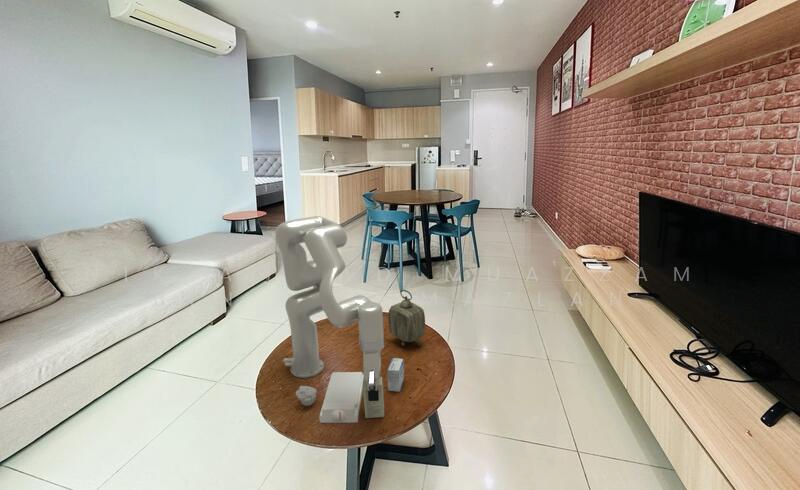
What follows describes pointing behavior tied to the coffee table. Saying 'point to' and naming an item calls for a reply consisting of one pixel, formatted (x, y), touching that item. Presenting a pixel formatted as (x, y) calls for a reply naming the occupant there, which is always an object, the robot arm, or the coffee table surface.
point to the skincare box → (374, 407)
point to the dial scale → (342, 398)
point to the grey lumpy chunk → (306, 395)
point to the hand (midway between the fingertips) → (374, 390)
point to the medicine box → (396, 374)
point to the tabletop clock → (407, 320)
